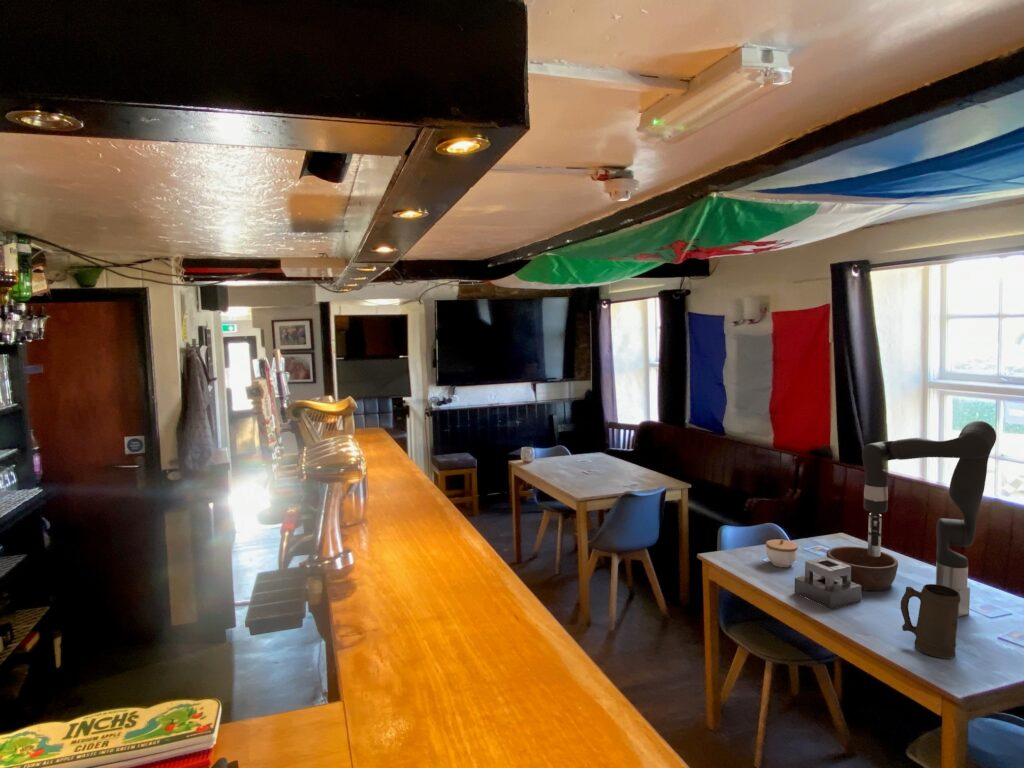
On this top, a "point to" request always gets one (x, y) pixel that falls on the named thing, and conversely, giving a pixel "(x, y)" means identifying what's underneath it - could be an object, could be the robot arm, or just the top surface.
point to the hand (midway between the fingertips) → (874, 543)
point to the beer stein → (933, 619)
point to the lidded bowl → (781, 552)
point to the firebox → (828, 583)
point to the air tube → (874, 549)
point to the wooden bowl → (866, 566)
